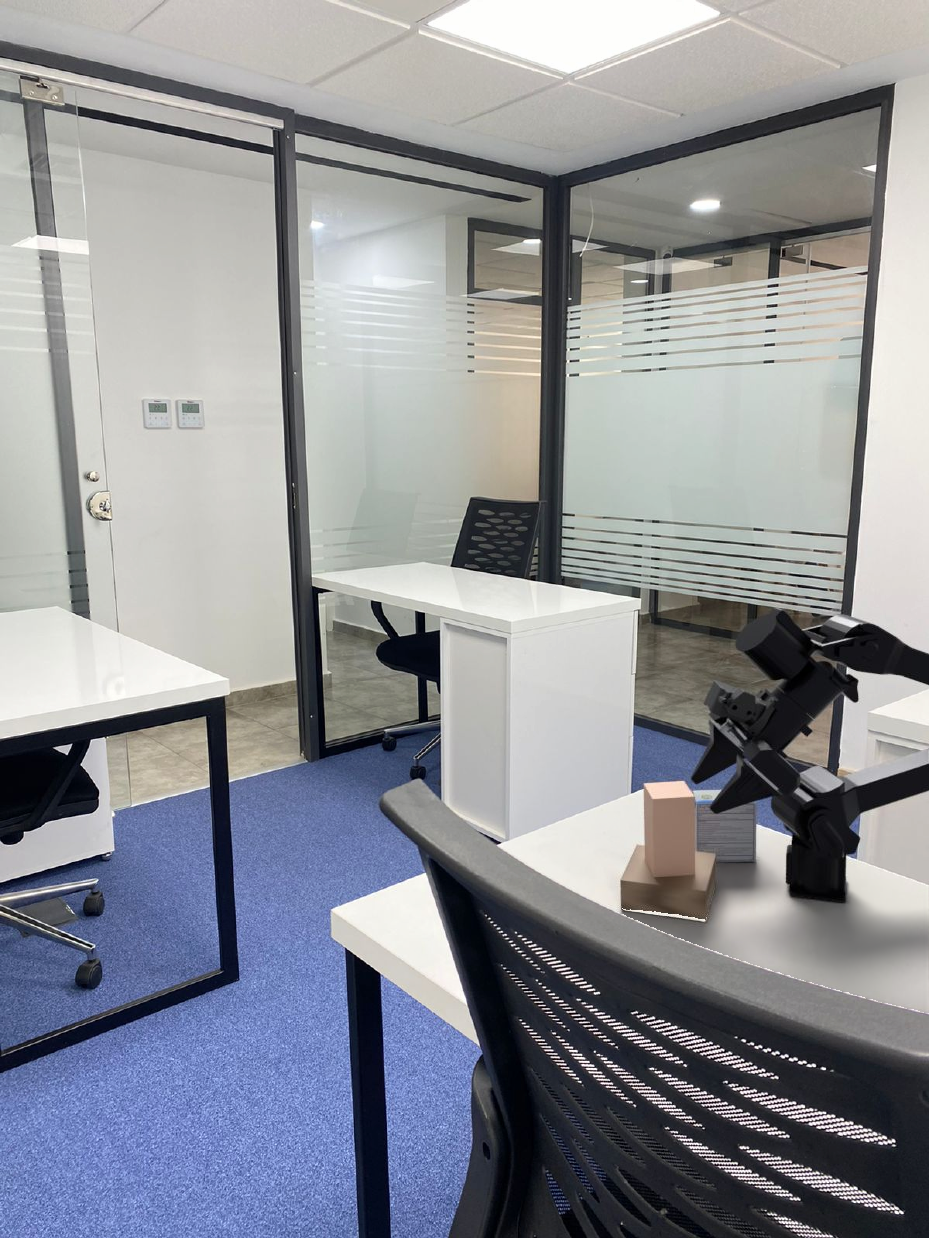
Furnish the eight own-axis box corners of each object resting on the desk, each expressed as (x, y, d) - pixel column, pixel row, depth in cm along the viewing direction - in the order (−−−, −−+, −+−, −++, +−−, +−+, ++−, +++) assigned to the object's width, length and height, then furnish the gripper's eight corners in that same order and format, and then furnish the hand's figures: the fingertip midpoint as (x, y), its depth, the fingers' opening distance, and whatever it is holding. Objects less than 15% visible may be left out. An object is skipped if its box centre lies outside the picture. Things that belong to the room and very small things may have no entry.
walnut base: (716, 882, 117) (716, 853, 116) (705, 922, 108) (705, 890, 107) (637, 872, 121) (636, 844, 120) (621, 910, 112) (620, 879, 111)
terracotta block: (684, 855, 116) (683, 780, 114) (695, 874, 111) (694, 796, 109) (644, 858, 116) (643, 783, 114) (653, 877, 111) (652, 798, 109)
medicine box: (750, 848, 126) (750, 788, 124) (756, 863, 122) (757, 801, 120) (691, 848, 127) (690, 789, 125) (695, 863, 123) (695, 802, 121)
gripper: (725, 641, 118) (640, 729, 120) (772, 680, 99) (671, 782, 102) (786, 697, 119) (701, 783, 121) (844, 745, 101) (742, 845, 103)
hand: (702, 795), depth 112 cm, fingers open, 9 cm apart
